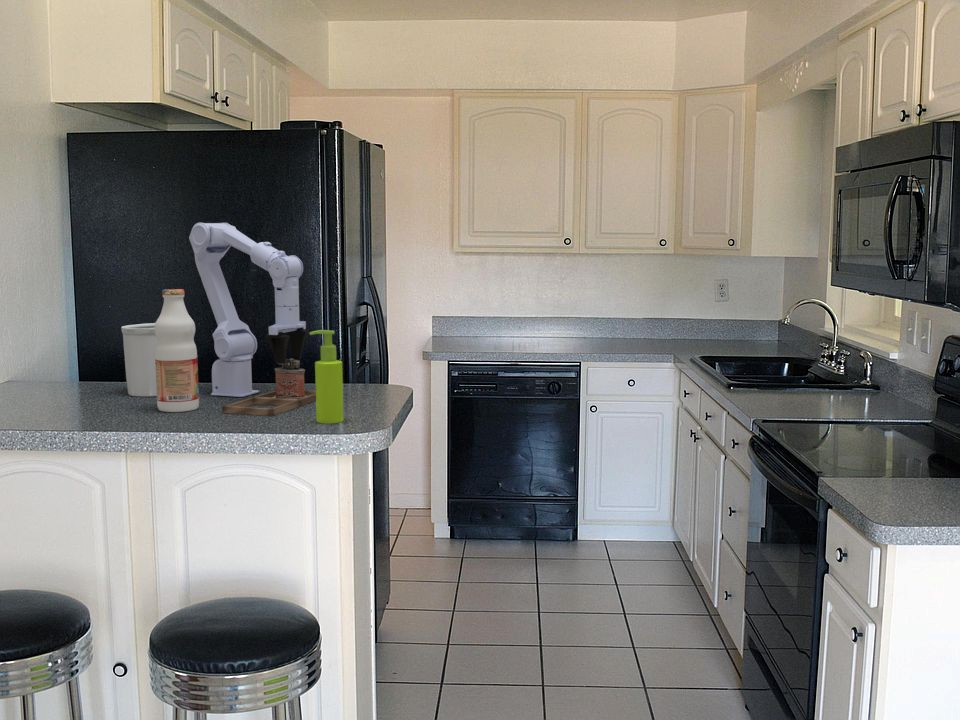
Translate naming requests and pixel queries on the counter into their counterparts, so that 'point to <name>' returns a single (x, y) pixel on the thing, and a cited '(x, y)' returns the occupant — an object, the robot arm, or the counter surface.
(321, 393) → the soap dispenser
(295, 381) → the lighter
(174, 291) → the fruit juice
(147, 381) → the utensil holder
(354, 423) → the counter surface
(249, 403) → the tray
